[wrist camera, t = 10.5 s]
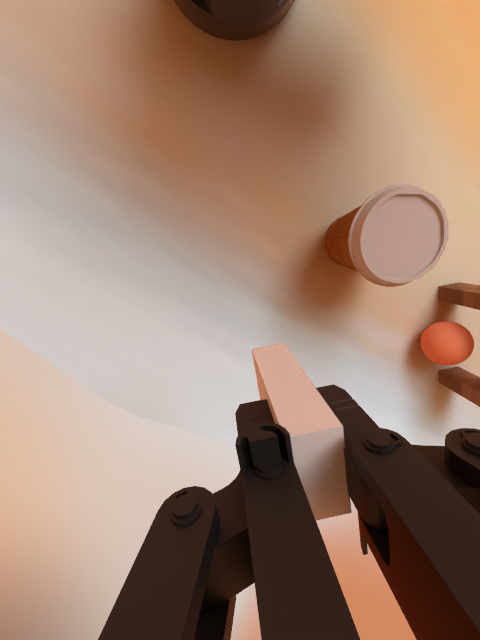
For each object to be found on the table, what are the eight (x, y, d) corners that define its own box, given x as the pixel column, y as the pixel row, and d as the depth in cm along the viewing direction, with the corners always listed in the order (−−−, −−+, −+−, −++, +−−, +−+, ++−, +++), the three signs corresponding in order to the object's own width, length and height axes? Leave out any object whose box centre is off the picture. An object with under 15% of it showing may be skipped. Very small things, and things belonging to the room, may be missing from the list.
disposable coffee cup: (396, 226, 39) (473, 217, 28) (356, 289, 41) (413, 305, 29) (339, 187, 37) (395, 159, 26) (299, 254, 39) (335, 256, 27)
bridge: (439, 382, 45) (497, 417, 36) (438, 286, 42) (504, 297, 32) (457, 378, 45) (521, 412, 36) (459, 282, 42) (530, 292, 32)
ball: (452, 312, 42) (408, 325, 44) (475, 319, 37) (424, 335, 38) (465, 350, 43) (421, 362, 44) (490, 363, 37) (438, 377, 39)
